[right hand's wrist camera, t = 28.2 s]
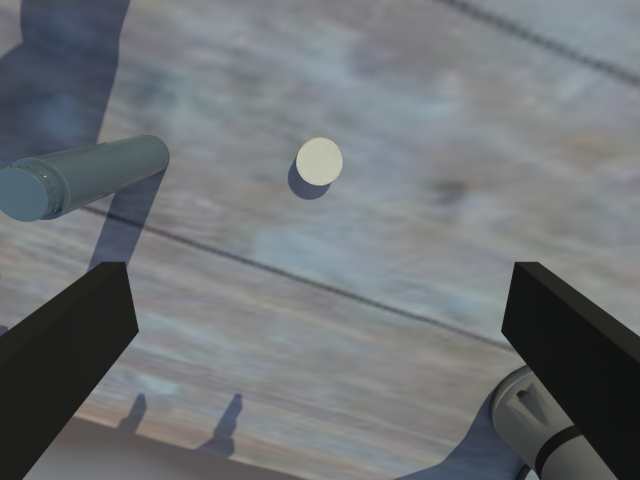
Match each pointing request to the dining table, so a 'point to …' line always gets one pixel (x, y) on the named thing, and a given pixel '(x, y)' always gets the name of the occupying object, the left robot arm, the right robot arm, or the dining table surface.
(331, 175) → the lid
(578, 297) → the right robot arm
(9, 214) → the gray cylinder
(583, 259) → the dining table surface
